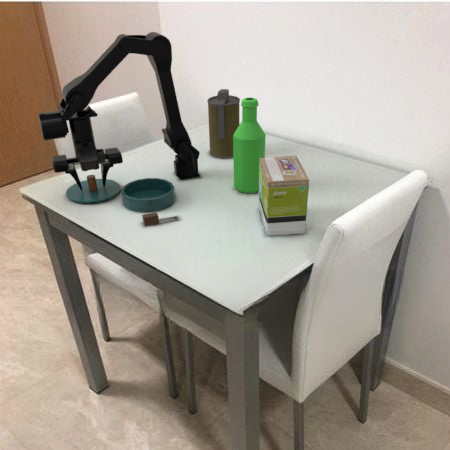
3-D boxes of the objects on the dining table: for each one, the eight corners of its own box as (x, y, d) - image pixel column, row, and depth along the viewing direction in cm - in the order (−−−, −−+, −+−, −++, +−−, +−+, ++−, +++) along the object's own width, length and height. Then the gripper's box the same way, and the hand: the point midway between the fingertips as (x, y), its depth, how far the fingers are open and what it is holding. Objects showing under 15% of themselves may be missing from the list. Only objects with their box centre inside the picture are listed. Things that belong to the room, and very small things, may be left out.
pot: (167, 186, 146) (166, 174, 144) (180, 206, 135) (179, 194, 133) (119, 194, 143) (117, 182, 140) (128, 216, 132) (127, 203, 130)
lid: (115, 178, 151) (113, 162, 148) (125, 199, 140) (122, 182, 137) (64, 186, 147) (60, 170, 144) (69, 208, 136) (65, 191, 133)
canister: (212, 146, 172) (210, 86, 160) (242, 147, 170) (242, 86, 158) (206, 158, 163) (203, 95, 151) (237, 160, 162) (237, 96, 150)
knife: (176, 216, 131) (175, 208, 129) (178, 220, 129) (177, 211, 128) (143, 223, 128) (142, 214, 127) (144, 226, 127) (143, 218, 125)
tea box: (257, 209, 133) (258, 156, 124) (294, 207, 134) (297, 154, 125) (265, 236, 121) (267, 180, 113) (306, 234, 122) (311, 177, 113)
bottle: (267, 184, 146) (270, 95, 131) (259, 196, 140) (261, 104, 125) (238, 180, 149) (238, 93, 134) (229, 192, 142) (228, 102, 127)
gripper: (48, 149, 125) (62, 205, 134) (122, 139, 130) (130, 194, 139) (46, 135, 133) (58, 189, 143) (115, 126, 138) (123, 179, 148)
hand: (92, 188), depth 143 cm, fingers open, 6 cm apart
